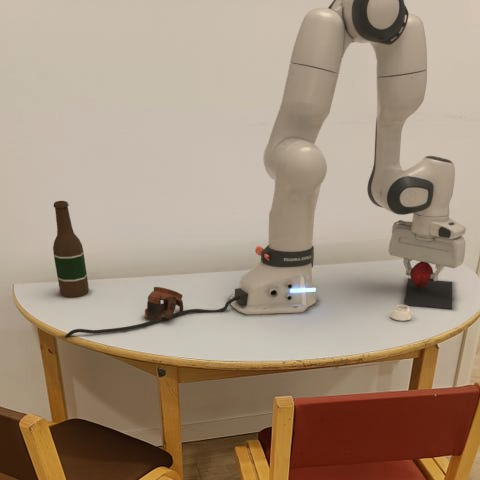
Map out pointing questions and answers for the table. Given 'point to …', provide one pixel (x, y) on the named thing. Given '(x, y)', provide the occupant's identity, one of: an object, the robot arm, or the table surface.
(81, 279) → the beer bottle
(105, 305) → the table surface
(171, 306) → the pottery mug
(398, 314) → the white jar
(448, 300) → the placemat
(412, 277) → the red round fruit
